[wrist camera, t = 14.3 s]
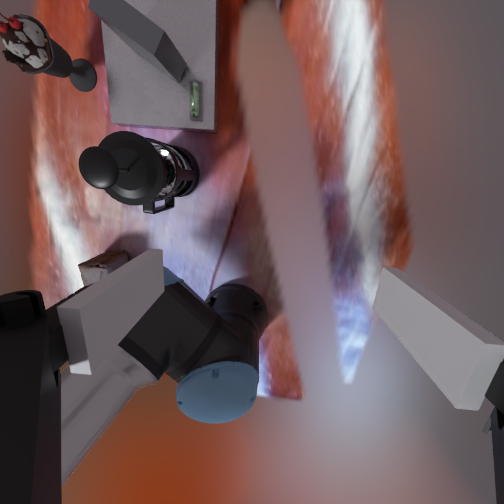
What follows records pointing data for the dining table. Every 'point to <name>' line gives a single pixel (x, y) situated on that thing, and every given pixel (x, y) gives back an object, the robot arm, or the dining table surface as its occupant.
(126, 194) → the french press
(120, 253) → the food item
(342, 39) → the dining table surface
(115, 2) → the dark grey rectangular block
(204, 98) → the base
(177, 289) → the robot arm
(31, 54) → the sundae
